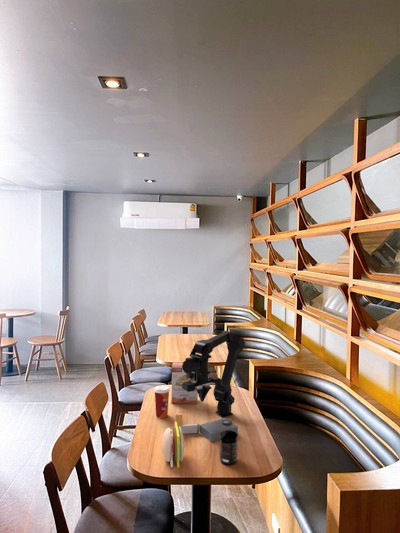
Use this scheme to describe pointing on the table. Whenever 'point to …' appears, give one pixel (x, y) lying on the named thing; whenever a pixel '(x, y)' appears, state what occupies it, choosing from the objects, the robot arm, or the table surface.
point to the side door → (186, 428)
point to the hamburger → (173, 445)
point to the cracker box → (177, 391)
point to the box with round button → (216, 429)
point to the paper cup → (161, 400)
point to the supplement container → (228, 447)
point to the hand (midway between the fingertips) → (201, 401)
